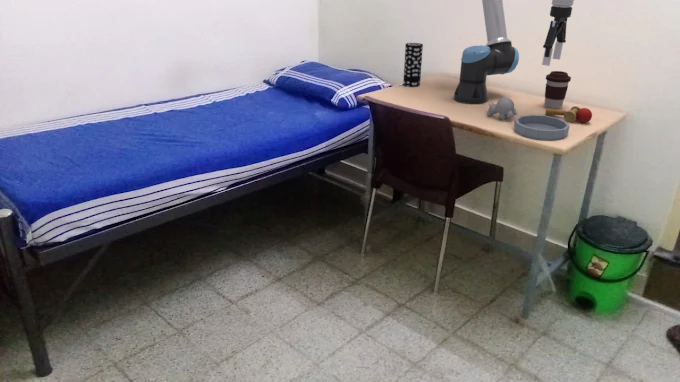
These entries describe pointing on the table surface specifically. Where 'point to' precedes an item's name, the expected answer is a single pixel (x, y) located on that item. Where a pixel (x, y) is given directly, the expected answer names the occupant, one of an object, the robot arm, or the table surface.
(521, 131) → the round tray
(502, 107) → the round bodied animal figurine
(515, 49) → the robot arm
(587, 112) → the kendama
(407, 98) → the table surface
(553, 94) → the coffee cup
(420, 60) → the spotted tube
